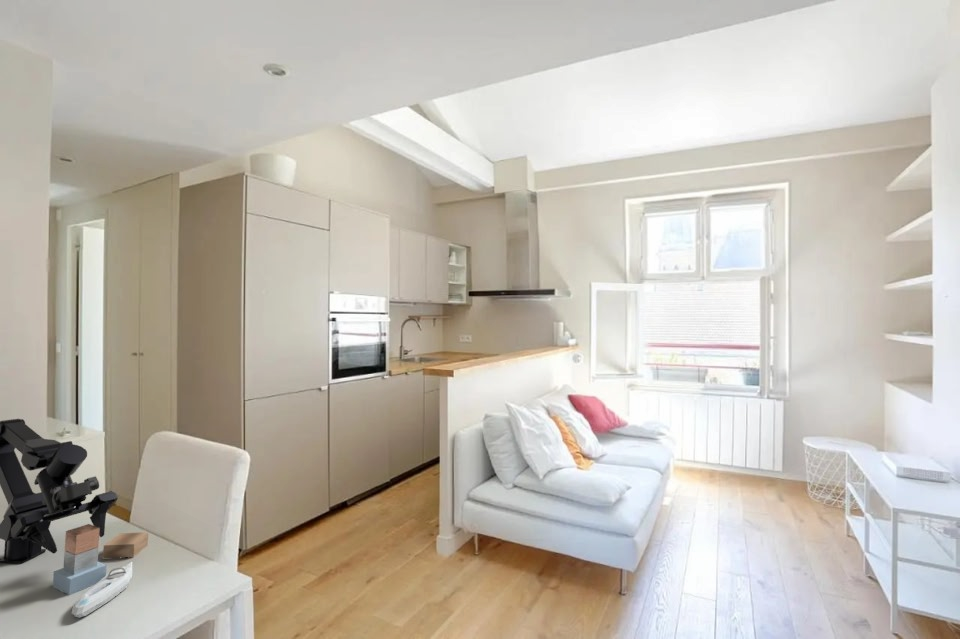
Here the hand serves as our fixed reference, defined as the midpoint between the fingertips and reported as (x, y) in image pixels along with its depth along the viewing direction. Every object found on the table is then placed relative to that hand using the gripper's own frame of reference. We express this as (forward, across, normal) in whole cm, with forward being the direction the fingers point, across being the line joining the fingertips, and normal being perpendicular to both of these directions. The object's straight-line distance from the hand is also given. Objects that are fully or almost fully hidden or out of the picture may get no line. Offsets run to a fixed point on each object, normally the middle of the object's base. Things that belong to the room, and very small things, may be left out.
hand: (79, 543), depth 106 cm
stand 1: (+7, 0, +6) cm, 9 cm away
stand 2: (+2, +13, +10) cm, 17 cm away
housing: (+4, 0, +3) cm, 6 cm away
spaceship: (+13, +1, 0) cm, 13 cm away
